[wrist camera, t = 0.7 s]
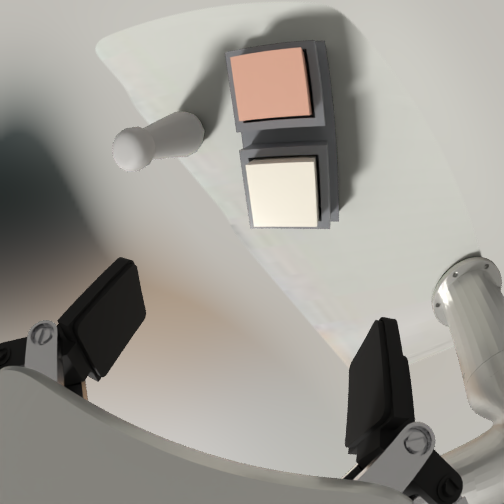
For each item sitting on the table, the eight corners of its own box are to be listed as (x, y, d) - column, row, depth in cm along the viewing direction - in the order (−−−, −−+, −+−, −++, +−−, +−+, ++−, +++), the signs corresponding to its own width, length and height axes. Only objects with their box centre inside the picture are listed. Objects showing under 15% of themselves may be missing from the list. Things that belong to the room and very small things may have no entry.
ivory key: (319, 212, 28) (317, 226, 25) (262, 213, 30) (253, 226, 27) (316, 155, 25) (313, 161, 22) (255, 157, 27) (245, 165, 24)
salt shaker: (198, 102, 30) (132, 108, 20) (218, 140, 32) (160, 164, 22) (164, 124, 33) (94, 142, 22) (183, 160, 35) (119, 191, 24)
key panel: (338, 211, 33) (338, 237, 27) (259, 211, 36) (243, 236, 30) (325, 46, 23) (322, 31, 18) (238, 56, 26) (214, 46, 21)
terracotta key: (312, 114, 23) (309, 115, 20) (250, 119, 25) (239, 121, 22) (305, 54, 20) (300, 47, 17) (242, 62, 22) (230, 57, 19)
